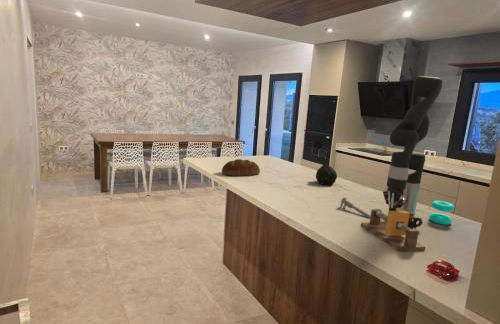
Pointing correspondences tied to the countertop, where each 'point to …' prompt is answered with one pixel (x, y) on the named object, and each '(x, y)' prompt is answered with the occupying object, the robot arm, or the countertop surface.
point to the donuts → (441, 217)
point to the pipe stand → (397, 242)
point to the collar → (393, 219)
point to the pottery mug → (414, 222)
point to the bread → (240, 168)
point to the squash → (326, 175)
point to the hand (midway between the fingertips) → (391, 215)
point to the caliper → (350, 205)
